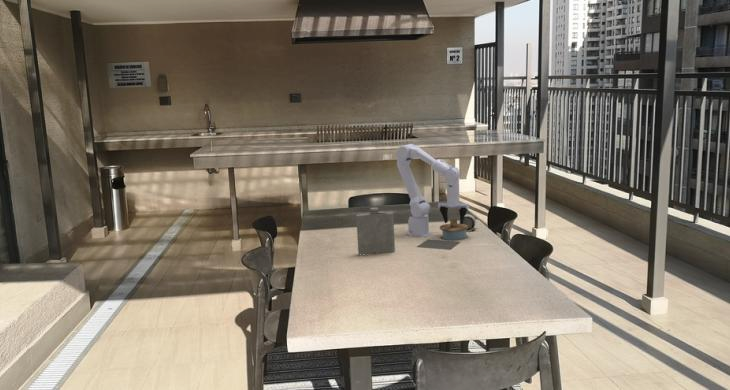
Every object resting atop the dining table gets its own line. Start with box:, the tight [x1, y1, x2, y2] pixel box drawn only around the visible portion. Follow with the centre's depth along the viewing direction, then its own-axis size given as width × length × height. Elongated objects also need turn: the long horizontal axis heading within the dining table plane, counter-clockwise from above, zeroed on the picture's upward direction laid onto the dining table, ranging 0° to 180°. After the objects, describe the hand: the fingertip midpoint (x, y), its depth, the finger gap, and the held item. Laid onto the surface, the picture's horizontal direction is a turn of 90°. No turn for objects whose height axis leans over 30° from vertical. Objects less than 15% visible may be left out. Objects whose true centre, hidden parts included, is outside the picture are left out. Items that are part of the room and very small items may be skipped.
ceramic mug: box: [458, 214, 477, 232], centre depth 293 cm, size 11×8×8 cm
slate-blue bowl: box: [441, 230, 467, 241], centre depth 279 cm, size 11×11×4 cm
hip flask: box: [355, 207, 396, 256], centre depth 258 cm, size 16×4×20 cm, turn 94°
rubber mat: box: [416, 238, 461, 251], centre depth 267 cm, size 16×14×1 cm
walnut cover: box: [439, 218, 468, 232], centre depth 278 cm, size 13×13×4 cm
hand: (453, 223), depth 278 cm, fingers open, 7 cm apart
